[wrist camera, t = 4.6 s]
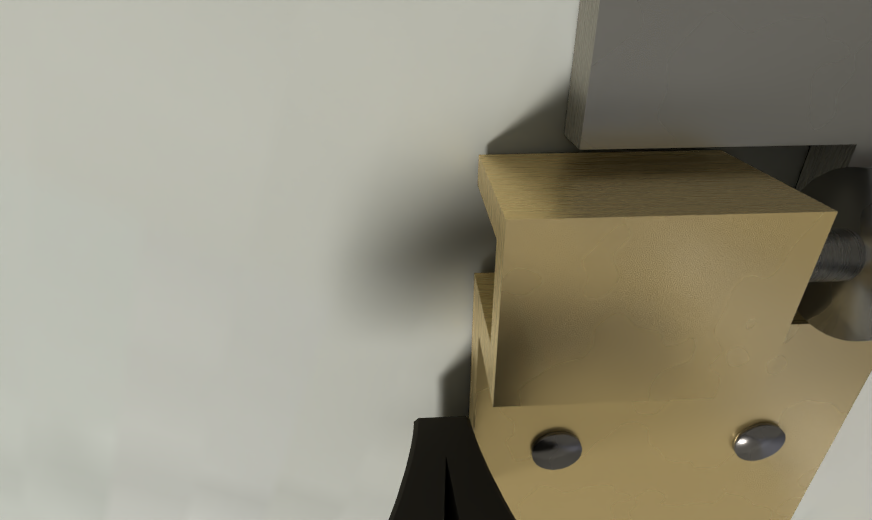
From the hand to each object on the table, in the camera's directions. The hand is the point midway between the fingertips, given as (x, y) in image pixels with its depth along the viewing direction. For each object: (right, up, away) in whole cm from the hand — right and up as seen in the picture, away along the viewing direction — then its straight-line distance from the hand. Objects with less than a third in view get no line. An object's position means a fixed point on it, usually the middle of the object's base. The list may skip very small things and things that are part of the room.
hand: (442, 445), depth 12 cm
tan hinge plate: (+5, +2, 0) cm, 6 cm away
